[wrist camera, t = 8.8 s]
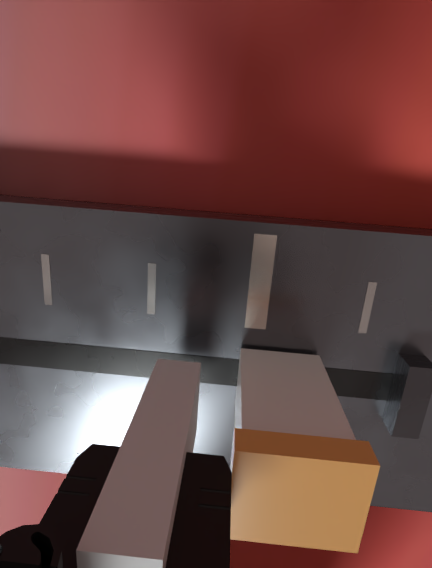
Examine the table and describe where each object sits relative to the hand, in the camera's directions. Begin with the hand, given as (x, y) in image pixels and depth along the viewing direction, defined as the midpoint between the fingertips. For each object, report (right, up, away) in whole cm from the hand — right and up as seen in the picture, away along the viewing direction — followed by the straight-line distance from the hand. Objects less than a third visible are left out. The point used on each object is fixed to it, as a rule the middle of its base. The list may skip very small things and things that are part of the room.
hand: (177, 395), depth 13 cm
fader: (+4, 0, +2) cm, 4 cm away
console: (-2, +1, +4) cm, 5 cm away
